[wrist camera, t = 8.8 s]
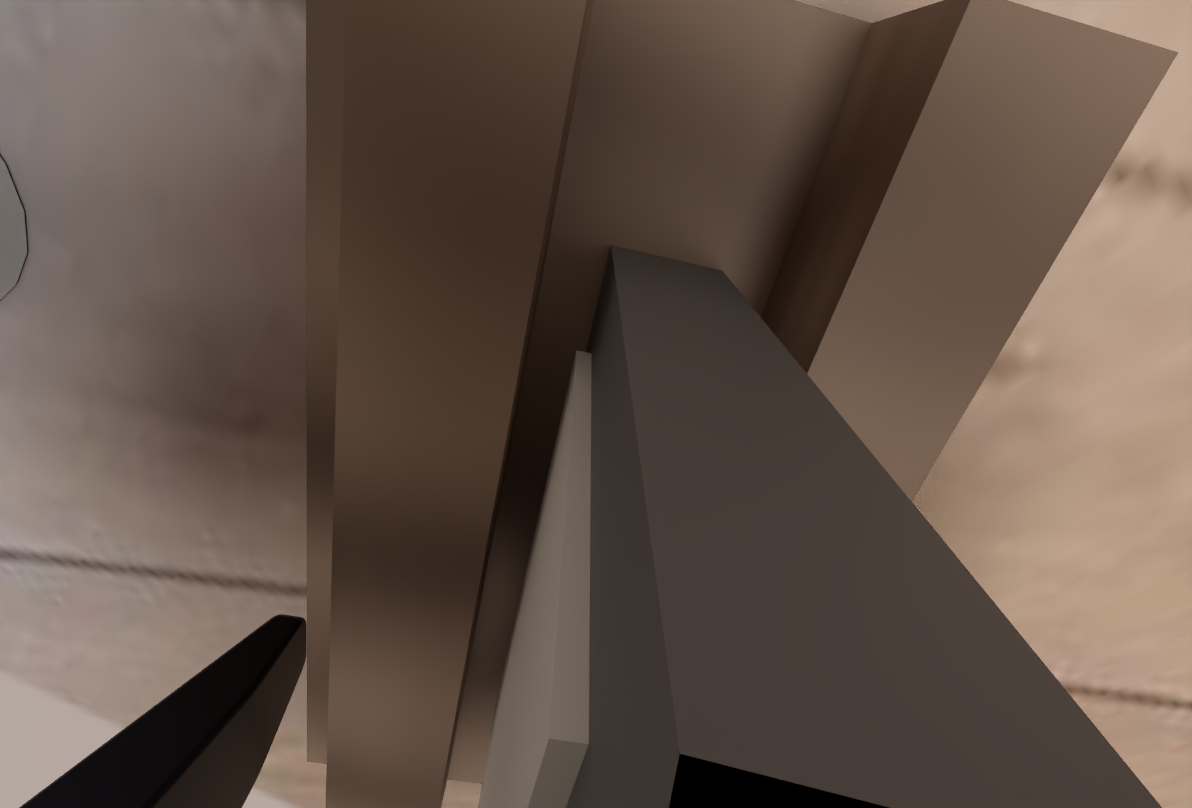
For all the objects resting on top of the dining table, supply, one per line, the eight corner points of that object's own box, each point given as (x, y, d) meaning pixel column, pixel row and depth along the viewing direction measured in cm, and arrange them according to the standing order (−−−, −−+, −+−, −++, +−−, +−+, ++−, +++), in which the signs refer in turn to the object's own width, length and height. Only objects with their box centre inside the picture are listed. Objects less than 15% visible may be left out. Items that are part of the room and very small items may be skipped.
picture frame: (736, 274, 10) (1329, 943, 2) (587, 707, 15) (581, 1364, 7) (597, 241, 10) (613, 863, 2) (495, 694, 15) (381, 1362, 7)
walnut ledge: (701, 778, 18) (723, 913, 15) (321, 727, 17) (261, 863, 14) (1065, 95, 10) (1291, 88, 6) (336, -115, 8) (182, -250, 5)
